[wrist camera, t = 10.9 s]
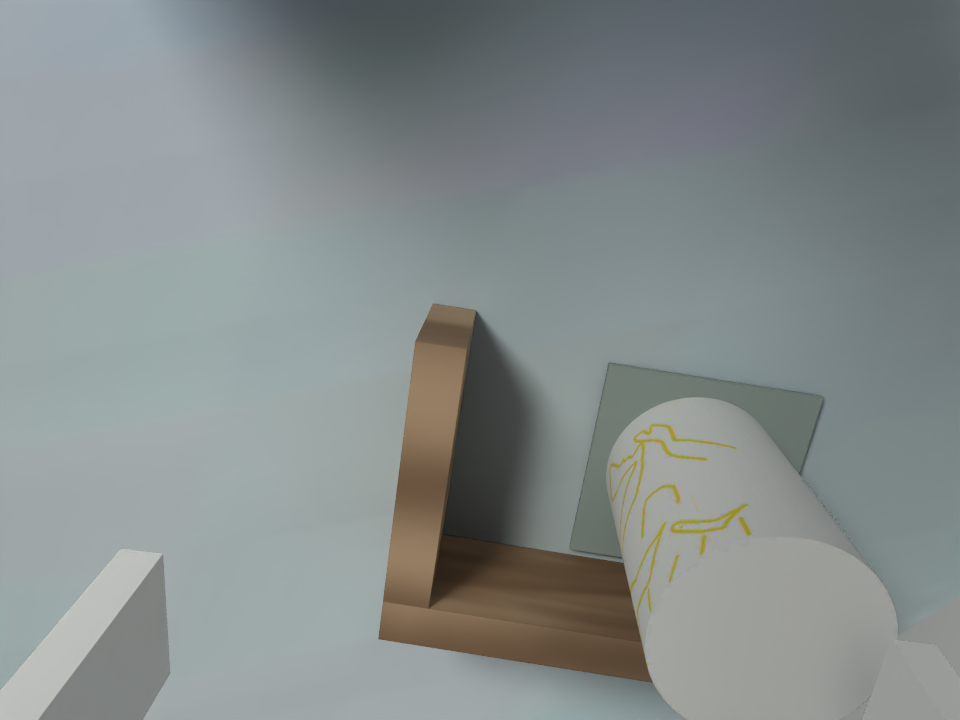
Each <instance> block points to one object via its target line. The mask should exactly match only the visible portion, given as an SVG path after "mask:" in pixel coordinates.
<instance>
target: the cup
mask: <svg viewBox="0 0 960 720" xmlns="http://www.w3.org/2000/svg"><path fill="white" fill-rule="evenodd" d="M606 486H607V491H608V496H609V500H610V505H611V509H612V514H613V518H614V522H615V527H616V531H617V536H618V540H619V544H620V549H621V553H622V558H623V562H624V566H625V571H626V575H627V580H628V584H629V588H630V593H631V597H632V602H633V606H634V610H635V615H636V619H637V624H638V628H639V633H640V637H641V641H642V646H643V650H644V655H645V659H646V663H647V667H648V671H649V674H650V677H651V679H652V681H653V683H654V685H655V687H656V689H657V691H658V692H659V694H660V695H661V696H662V698H663V699H664V700H665V701H666V703H667V704H668V705H669V706H670V707H671V708H672V709H673V710H674V711H675V712H677V713H678V714H679V715H680V716H682V717H683V718H684V719H686V720H841V719H843V718H845V717H846V716H848V715H849V714H851V713H852V712H853V711H855V710H856V709H857V708H859V707H860V706H861V705H862V704H863V703H864V702H865V701H866V700H867V699H868V698H869V697H870V696H871V693H872V691H873V688H874V686H875V683H876V680H877V678H878V675H879V672H880V670H881V667H882V664H883V662H884V659H885V657H886V654H887V651H888V649H889V646H890V643H891V641H892V639H894V640H898V622H897V616H896V611H895V608H894V605H893V602H892V599H891V597H890V595H889V593H888V591H887V589H886V588H885V586H884V585H883V583H882V582H881V581H880V579H879V578H878V577H877V575H876V574H875V573H874V571H873V570H872V569H871V567H870V566H869V565H868V564H867V562H866V561H865V560H864V558H863V557H862V556H861V554H860V553H859V552H858V551H857V549H856V548H855V547H854V545H853V544H852V543H851V541H850V540H849V539H848V538H847V536H846V535H845V534H844V532H843V531H842V530H841V528H840V527H839V526H838V524H837V523H836V522H835V521H834V519H833V518H832V517H831V515H830V514H829V513H828V511H827V510H826V509H825V508H824V506H823V505H822V504H821V502H820V501H819V500H818V498H817V497H816V496H815V495H814V493H813V492H812V491H811V489H810V488H809V487H808V485H807V484H806V483H805V482H804V480H803V479H802V478H801V476H800V475H799V474H798V472H797V471H796V470H795V469H794V467H793V466H792V465H791V463H790V462H789V461H788V459H787V458H786V457H785V456H784V454H783V453H782V452H781V450H780V449H779V448H778V446H777V445H776V444H775V443H774V441H773V440H772V439H771V437H770V436H769V435H768V433H767V432H766V431H765V430H764V428H763V427H762V426H761V425H760V423H759V422H758V421H757V420H756V419H755V418H753V417H752V416H751V415H750V414H748V413H747V412H746V411H744V410H742V409H741V408H739V407H737V406H735V405H733V404H730V403H728V402H725V401H721V400H717V399H712V398H704V397H690V398H681V399H676V400H672V401H668V402H665V403H662V404H660V405H657V406H655V407H653V408H651V409H649V410H648V411H646V412H644V413H643V414H641V415H640V416H639V417H637V418H636V419H635V420H634V421H632V422H631V423H630V424H629V425H628V426H627V427H626V428H625V430H624V431H623V432H622V433H621V435H620V436H619V438H618V439H617V441H616V442H615V444H614V446H613V448H612V451H611V453H610V456H609V459H608V464H607V470H606Z"/></svg>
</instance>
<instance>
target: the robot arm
mask: <svg viewBox="0 0 960 720" xmlns="http://www.w3.org/2000/svg"><path fill="white" fill-rule="evenodd" d="M169 674H170V662H169V645H168V629H167V613H166V596H165V580H164V564H163V554H159V553H151V552H142V551H134V550H125V549H120V551H119V552H118V553H117V554H116V555H115V556H114V558H113V559H112V560H111V561H110V562H109V563H108V565H107V566H106V567H105V568H104V569H103V570H102V572H101V573H100V574H99V575H98V576H97V578H96V579H95V580H94V581H93V582H92V583H91V585H90V586H89V587H88V588H87V589H86V590H85V592H84V593H83V594H82V595H81V596H80V597H79V599H78V600H77V601H76V602H75V603H74V605H73V606H72V607H71V608H70V609H69V610H68V612H67V613H66V614H65V615H64V616H63V617H62V619H61V620H60V621H59V622H58V623H57V625H56V626H55V627H54V628H53V629H52V630H51V632H50V633H49V634H48V635H47V636H46V637H45V639H44V640H43V641H42V642H41V643H40V644H39V646H38V647H37V648H36V649H35V650H34V652H33V653H32V654H31V655H30V656H29V657H28V659H27V660H26V661H25V662H24V663H23V664H22V666H21V667H20V668H19V669H18V670H17V671H16V673H15V674H14V675H13V676H12V677H11V679H10V680H9V681H8V682H7V683H6V684H5V686H4V687H3V688H2V689H1V690H0V720H143V718H144V717H145V715H146V713H147V712H148V710H149V708H150V706H151V705H152V703H153V701H154V700H155V698H156V696H157V695H158V693H159V691H160V690H161V688H162V686H163V684H164V683H165V681H166V679H167V678H168V676H169ZM862 720H960V678H959V676H958V675H957V673H956V672H955V671H954V669H953V668H952V667H951V665H950V664H949V663H948V661H947V660H946V658H945V657H944V656H943V654H942V653H941V652H940V650H939V649H938V648H937V646H936V645H935V644H927V643H920V642H911V641H902V640H894V639H892V641H891V643H890V646H889V649H888V651H887V654H886V657H885V659H884V662H883V664H882V667H881V670H880V672H879V675H878V678H877V680H876V683H875V686H874V688H873V691H872V693H871V696H870V699H869V701H868V704H867V707H866V709H865V712H864V715H863V717H862Z"/></svg>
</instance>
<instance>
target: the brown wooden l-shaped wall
mask: <svg viewBox="0 0 960 720" xmlns="http://www.w3.org/2000/svg"><path fill="white" fill-rule="evenodd" d="M475 314H476V310H470V309H464V308H457V307H451V306H445V305H438V304H433V305H432V307H431V309H430V312H429V314H428V316H427V318H426V320H425V322H424V324H423V326H422V329H421V331H420V333H419V335H418V337H417V339H416V341H415V349H414V357H413V365H412V373H411V381H410V389H409V397H408V405H407V413H406V421H405V429H404V437H403V445H402V453H401V461H400V469H399V478H398V486H397V494H396V502H395V510H394V518H393V526H392V534H391V542H390V550H389V558H388V566H387V574H386V582H385V590H384V598H383V606H382V614H381V622H380V631H379V639H381V640H387V641H394V642H400V643H406V644H413V645H419V646H425V647H432V648H438V649H444V650H451V651H457V652H463V653H469V654H476V655H482V656H488V657H495V658H501V659H507V660H514V661H520V662H526V663H533V664H539V665H545V666H551V667H558V668H564V669H570V670H577V671H583V672H589V673H596V674H602V675H608V676H615V677H621V678H627V679H634V680H640V681H646V682H652V683H653V681H652V679H651V677H650V674H649V671H648V667H647V663H646V659H645V655H644V650H643V646H642V641H641V637H640V633H639V628H638V624H637V619H636V615H635V610H634V606H633V602H632V597H631V593H630V588H629V584H628V580H627V575H626V571H625V566H624V563H619V562H613V561H607V560H600V559H594V558H588V557H581V556H575V555H569V554H562V553H556V552H550V551H543V550H537V549H531V548H524V547H518V546H512V545H505V544H499V543H493V542H486V541H480V540H474V539H467V538H461V537H455V536H448V535H442V534H443V528H444V521H445V514H446V508H447V501H448V494H449V487H450V481H451V474H452V467H453V461H454V454H455V447H456V441H457V434H458V427H459V421H460V414H461V407H462V401H463V394H464V387H465V381H466V374H467V367H468V361H469V354H470V347H471V341H472V334H473V327H474V321H475Z"/></svg>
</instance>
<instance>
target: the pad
mask: <svg viewBox="0 0 960 720" xmlns="http://www.w3.org/2000/svg"><path fill="white" fill-rule="evenodd" d="M690 397H704V398H712V399H717V400H721V401H725V402H728V403H730V404H733V405H735V406H737V407H739V408H741V409H742V410H744V411H746V412H747V413H748V414H750V415H751V416H752V417H753V418H755V419H756V420H757V421H758V422H759V423H760V425H761V426H762V427H763V428H764V430H765V431H766V432H767V433H768V435H769V436H770V437H771V439H772V440H773V441H774V443H775V444H776V445H777V446H778V448H779V449H780V450H781V452H782V453H783V454H784V456H785V457H786V458H787V459H788V461H789V462H790V463H791V465H792V466H793V467H794V469H795V470H796V471H797V472H798V474H799V473H800V470H801V467H802V464H803V461H804V458H805V454H806V451H807V448H808V445H809V442H810V439H811V436H812V433H813V429H814V426H815V423H816V420H817V417H818V414H819V411H820V408H821V404H822V401H823V397H822V396H819V395H812V394H806V393H799V392H793V391H787V390H780V389H774V388H767V387H761V386H755V385H748V384H742V383H735V382H729V381H723V380H716V379H710V378H704V377H697V376H691V375H684V374H678V373H672V372H665V371H659V370H652V369H646V368H640V367H633V366H627V365H621V364H614V363H609V365H608V369H607V374H606V379H605V383H604V388H603V393H602V397H601V402H600V407H599V411H598V416H597V421H596V425H595V430H594V435H593V439H592V444H591V449H590V453H589V458H588V462H587V467H586V472H585V476H584V481H583V486H582V490H581V495H580V500H579V504H578V509H577V514H576V518H575V523H574V528H573V532H572V537H571V542H570V549H571V550H578V551H584V552H590V553H597V554H603V555H609V556H616V557H622V553H621V549H620V544H619V540H618V536H617V531H616V527H615V522H614V518H613V514H612V509H611V505H610V500H609V496H608V491H607V486H606V470H607V464H608V459H609V456H610V453H611V451H612V448H613V446H614V444H615V442H616V441H617V439H618V438H619V436H620V435H621V433H622V432H623V431H624V430H625V428H626V427H627V426H628V425H629V424H630V423H631V422H632V421H634V420H635V419H636V418H637V417H639V416H640V415H641V414H643V413H644V412H646V411H648V410H649V409H651V408H653V407H655V406H657V405H660V404H662V403H665V402H668V401H672V400H676V399H681V398H690Z"/></svg>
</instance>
